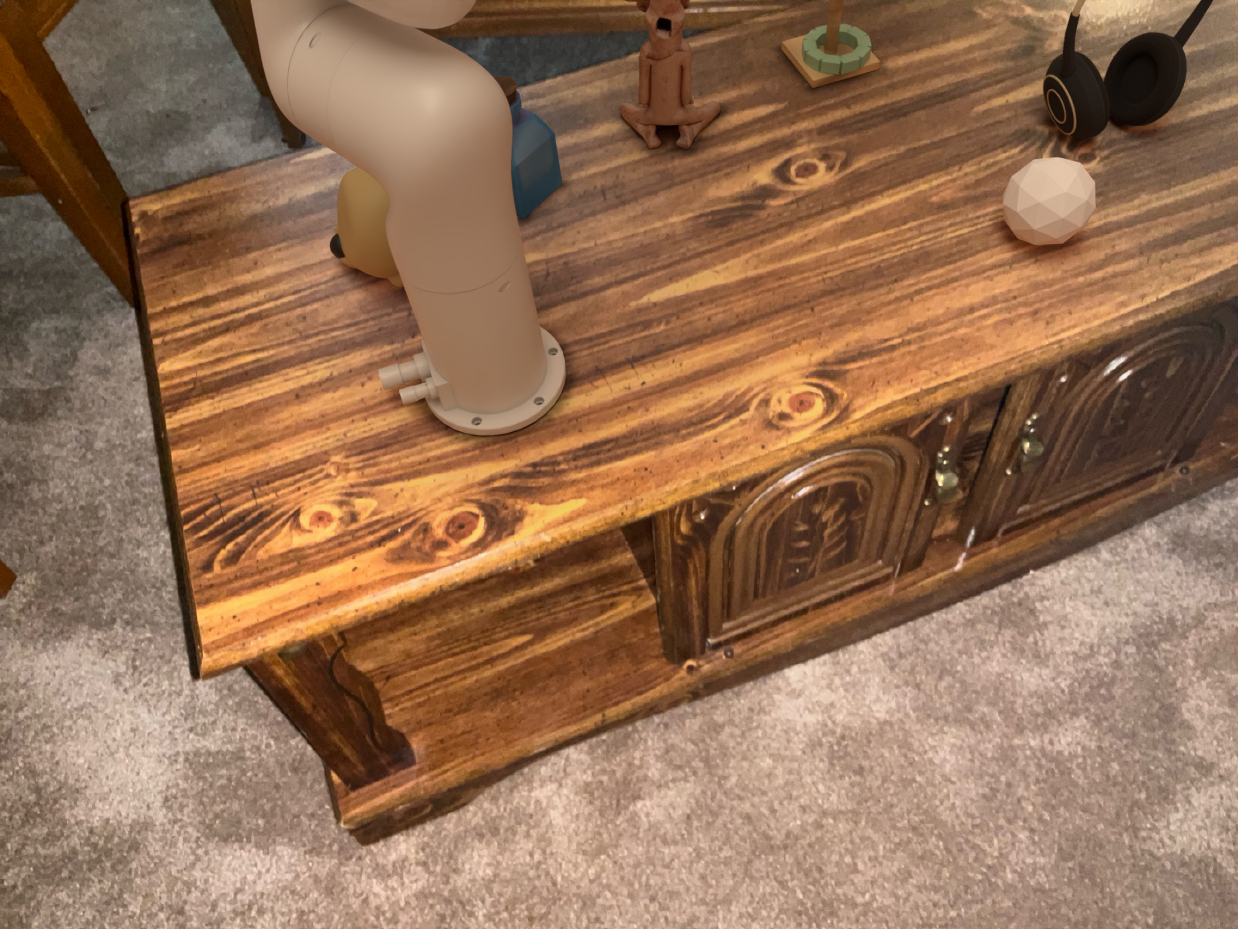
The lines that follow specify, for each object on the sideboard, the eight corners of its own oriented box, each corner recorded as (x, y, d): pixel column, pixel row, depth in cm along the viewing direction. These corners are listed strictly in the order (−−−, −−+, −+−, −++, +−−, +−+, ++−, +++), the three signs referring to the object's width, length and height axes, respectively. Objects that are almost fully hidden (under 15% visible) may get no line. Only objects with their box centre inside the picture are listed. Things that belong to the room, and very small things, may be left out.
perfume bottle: (523, 218, 96) (502, 115, 86) (477, 196, 98) (452, 93, 88) (562, 183, 98) (546, 79, 88) (516, 162, 101) (496, 58, 91)
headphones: (1007, 115, 99) (1069, -84, 83) (1138, 84, 100) (1224, -119, 84) (1050, 167, 94) (1125, -33, 78) (1186, 133, 96) (1288, -71, 79)
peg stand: (812, 88, 104) (823, -10, 95) (780, 49, 108) (788, -49, 99) (879, 69, 105) (896, -30, 96) (845, 30, 109) (858, -67, 100)
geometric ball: (1004, 254, 92) (970, 187, 88) (1073, 201, 91) (1042, 131, 88) (1053, 273, 85) (1019, 201, 82) (1129, 216, 85) (1097, 140, 81)
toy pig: (434, 257, 99) (359, 175, 96) (480, 215, 88) (398, 122, 86) (369, 317, 94) (288, 233, 91) (409, 280, 84) (320, 184, 81)
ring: (881, 63, 104) (883, 52, 103) (818, 81, 103) (819, 69, 102) (851, 28, 108) (853, 17, 107) (790, 45, 107) (791, 33, 106)
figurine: (721, 109, 103) (725, -82, 86) (704, 159, 99) (705, -32, 82) (627, 99, 105) (613, -90, 89) (606, 147, 101) (587, -42, 84)
